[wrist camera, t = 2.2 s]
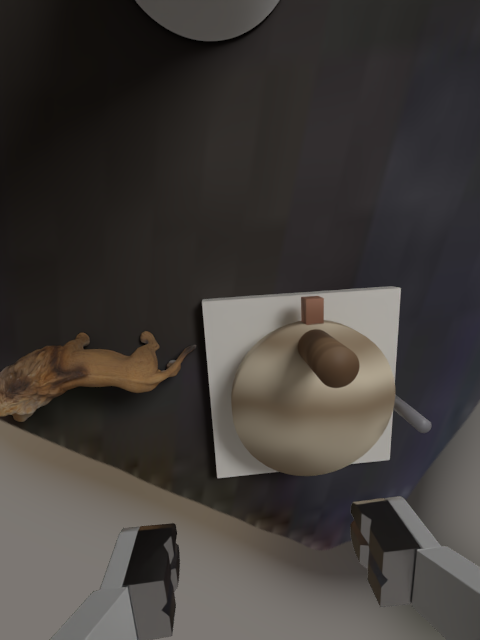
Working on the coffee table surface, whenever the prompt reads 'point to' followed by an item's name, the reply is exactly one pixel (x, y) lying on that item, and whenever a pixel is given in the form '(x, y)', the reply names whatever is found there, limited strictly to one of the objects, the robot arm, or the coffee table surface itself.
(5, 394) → the lion figurine
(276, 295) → the post base
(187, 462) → the coffee table surface
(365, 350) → the beige round knobbed piece
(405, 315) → the coffee table surface
